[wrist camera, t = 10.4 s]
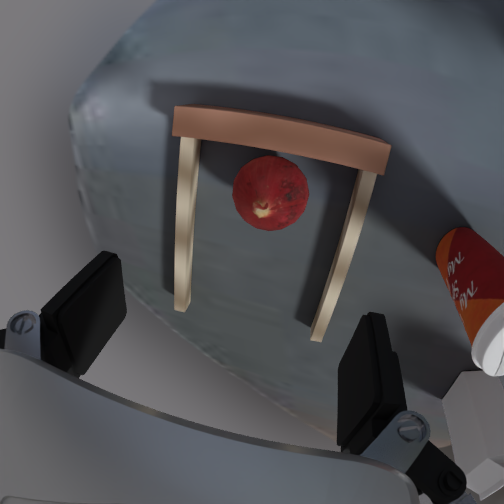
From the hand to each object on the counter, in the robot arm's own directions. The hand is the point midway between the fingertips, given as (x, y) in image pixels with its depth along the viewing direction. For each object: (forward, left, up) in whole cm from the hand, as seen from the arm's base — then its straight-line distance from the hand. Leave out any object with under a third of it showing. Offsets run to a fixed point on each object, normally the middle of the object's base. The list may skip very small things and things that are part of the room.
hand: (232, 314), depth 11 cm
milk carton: (+23, +35, -19) cm, 45 cm away
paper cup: (+3, +20, -19) cm, 27 cm away
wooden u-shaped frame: (+6, 0, -18) cm, 19 cm away
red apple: (0, 0, -19) cm, 19 cm away
